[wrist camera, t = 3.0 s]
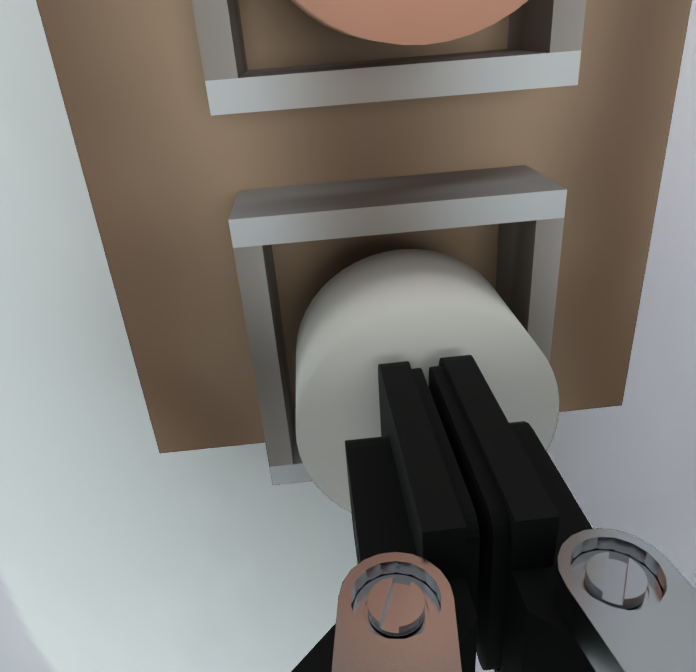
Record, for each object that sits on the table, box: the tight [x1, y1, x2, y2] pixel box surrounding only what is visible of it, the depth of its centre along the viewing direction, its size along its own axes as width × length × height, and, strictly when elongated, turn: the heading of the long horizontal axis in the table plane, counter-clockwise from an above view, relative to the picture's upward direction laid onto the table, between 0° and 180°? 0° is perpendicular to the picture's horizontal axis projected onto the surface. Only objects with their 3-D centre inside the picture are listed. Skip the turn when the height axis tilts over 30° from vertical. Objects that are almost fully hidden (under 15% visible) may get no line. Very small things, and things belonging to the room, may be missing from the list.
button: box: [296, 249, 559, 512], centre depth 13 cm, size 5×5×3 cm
